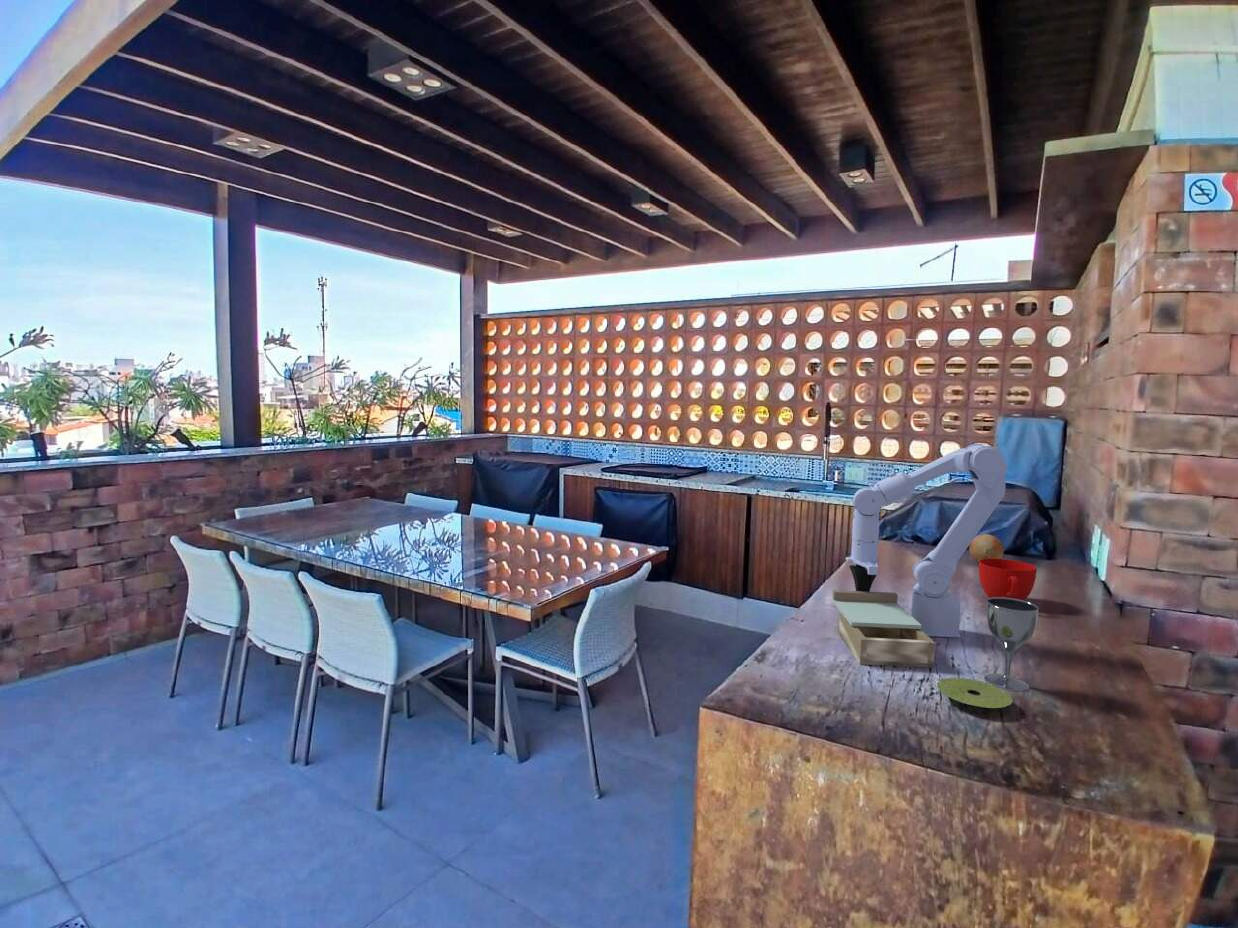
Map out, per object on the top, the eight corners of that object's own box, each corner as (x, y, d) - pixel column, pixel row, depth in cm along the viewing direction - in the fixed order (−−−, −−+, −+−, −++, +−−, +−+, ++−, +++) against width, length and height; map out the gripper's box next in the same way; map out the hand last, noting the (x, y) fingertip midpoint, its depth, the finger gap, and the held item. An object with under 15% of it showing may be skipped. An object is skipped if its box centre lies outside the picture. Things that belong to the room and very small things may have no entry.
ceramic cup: (983, 609, 156) (986, 571, 155) (972, 591, 171) (975, 556, 170) (1043, 616, 151) (1046, 577, 150) (1027, 597, 166) (1030, 561, 166)
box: (903, 637, 136) (905, 615, 135) (933, 667, 120) (935, 642, 119) (838, 634, 137) (839, 612, 137) (859, 663, 121) (861, 639, 121)
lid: (894, 604, 142) (895, 592, 142) (921, 629, 126) (922, 615, 126) (832, 601, 143) (832, 590, 143) (851, 625, 127) (852, 612, 127)
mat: (981, 723, 99) (982, 712, 98) (921, 693, 109) (922, 683, 109) (1026, 710, 103) (1027, 699, 103) (965, 683, 113) (966, 672, 113)
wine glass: (1016, 695, 109) (1022, 613, 107) (972, 677, 116) (977, 600, 114) (1041, 686, 112) (1047, 607, 111) (997, 670, 119) (1003, 594, 118)
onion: (975, 567, 198) (977, 536, 197) (963, 559, 208) (965, 530, 207) (1008, 568, 197) (1010, 538, 196) (994, 561, 206) (996, 532, 205)
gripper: (839, 533, 150) (836, 587, 151) (856, 546, 136) (853, 606, 137) (869, 534, 149) (866, 588, 151) (889, 547, 135) (885, 607, 136)
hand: (862, 596), depth 144 cm, fingers closed
